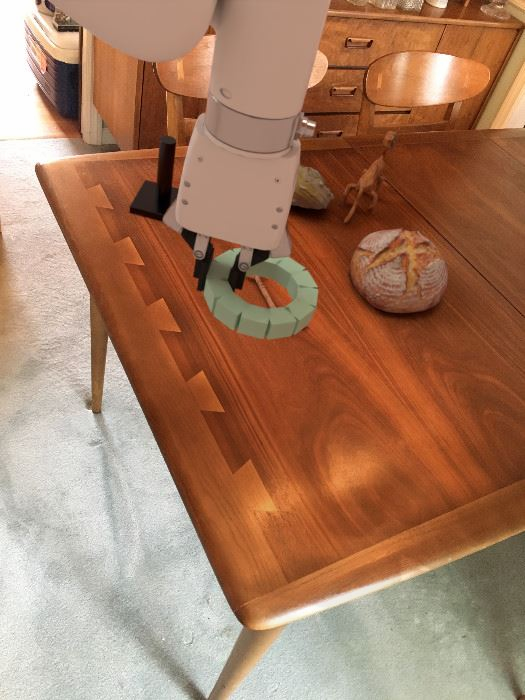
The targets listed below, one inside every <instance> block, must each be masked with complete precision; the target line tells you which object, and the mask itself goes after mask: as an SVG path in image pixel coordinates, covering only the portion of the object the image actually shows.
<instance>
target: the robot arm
mask: <svg viewBox="0 0 525 700" xmlns="http://www.w3.org/2000/svg"><path fill="white" fill-rule="evenodd" d="M47 1H48V2H49V3H51V5H53V6H54V7H55V8H57V9H58V10H59V11H61V12H62V13H63V14H65V15H67V17H69V18H70V19H71V20H73V21H74V22H76V23H77V24H78V25H80V27H82V28H83V29H84V30H86V31H88V32H89V33H90V34H92V35H93V36H94V37H96V38H97V39H98V40H100V41H102V42H103V43H104V44H107V45H108V46H110V47H111V48H113V49H115V50H116V51H118V52H120V53H122V54H124V55H127V56H129V57H131V58H133V59H136V60H139V61H143V62H147V63H159V64H160V63H162V64H163V63H168V62H173V61H176V60H178V59H181V58H182V57H185V56H186V55H188V54H189V53H190V52H192V51H193V50H194V49H195V48H196V47H197V46H198V45H199V44H200V42H201V41H202V40H203V38H204V37H205V35H206V33H207V31H208V29H209V27H211V28H212V29H213V30H214V33H215V40H214V47H213V55H212V62H211V69H210V76H209V83H208V92H207V98H206V104H205V105H206V107H205V112H203V113H201V114H199V115H198V116H197V119H196V122H195V124H194V127H193V129H192V133H191V136H190V138H189V143H188V146H187V150H186V154H185V158H184V162H183V166H182V172H181V177H180V182H179V185H178V186H179V187H178V189H179V191H178V197H177V198H176V199H175V201H174V202H173V203H172V205H171V206H170V207H169V208H168V210H167V211H166V213H165V215H164V217H163V221H162V223H163V224H164V225H166V226H167V227H169V229H172V230H173V231H174V232H176V233H177V234H180V236H181V237H182V240H183V241H185V243H186V244H187V245H188V246H189V248H191V250H192V256H193V258H195V261H194V262H195V263H194V268H193V275H192V278H194V279H198V280H197V286H196V291H197V292H200V293H202V292H203V291H204V287H205V281H206V276H207V273H208V271H209V268H210V265H211V262H212V261H213V259H214V253H215V247H214V244H213V243H212V242H211V241H212V238H214V239H218V240H221V241H225V242H229V243H233V244H236V245H240V248H241V251H240V252H239V254H237V255H236V258H235V261H234V265H233V268H232V271H231V276H230V280H229V284H230V286H231V288H232V290H233V293H235V291H236V290H238V291H243V287H244V284H245V278H246V272H247V271H249V269H250V267H252V266H254V265H256V264H259V263H261V262H263V261H265V260H267V259H268V258H272V259H273V258H283V257H290V256H291V254H292V249H293V243H292V237H291V234H290V230H289V227H288V226H289V224H288V217H289V215H290V211H291V208H292V207H291V206H292V205H291V203H292V198H293V194H294V189H295V185H296V181H297V175H298V169H299V162H300V163H301V150H302V149H301V146H302V144H301V141H300V139H303V138H307V139H310V140H312V139H313V137H314V135H315V134H314V133H315V130H316V126H317V121H313V120H310V119H309V117H306V116H305V112H304V111H302V110H303V107H304V103H305V98H306V96H307V92H308V87H309V84H310V80H311V76H312V73H313V70H314V66H315V62H316V57H317V54H318V51H319V46H320V43H321V39H322V35H323V31H324V28H325V24H326V20H327V18H328V13H329V8H330V6H331V2H332V0H47ZM299 138H300V139H299Z"/></svg>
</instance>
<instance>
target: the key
mask: <svg viewBox="0 0 525 700" xmlns="http://www.w3.org/2000/svg"><path fill="white" fill-rule="evenodd" d="M246 277H247V278H248V279H252V280H255V282H256V284H257V286H258V288H259V291H260V292H261V294H262V295H263V297H264V299H265V301H266V303H267V305H268V306H269V308H277V306H276V304H275V302H274V301H273V299H272V297H271V295H270V294H269V292H268V290H267V287H266V286H265V284H264V283H263V281H262V277H261V276H257V275H251V276H245V278H246ZM304 328H308V325H307V326H305V327H304ZM304 328H303V329H304Z"/></svg>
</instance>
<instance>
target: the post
mask: <svg viewBox="0 0 525 700" xmlns="http://www.w3.org/2000/svg"><path fill="white" fill-rule="evenodd" d="M158 146H159V147H158V156H157V158H158V159H157V173H156V181H151V180H148V179H144V181H143V183H142V184H141V186H140V188H139V190H138V192H137V194H136V195H135V197H134V198H133V200H132V201H131V204H130V205H129V213H130V214H134V215H138V216H143V217H145V218H150V219H154V220H158V221H161V222H163V217H164V215H165V213H166V211H167V210H168V208H169V207H170V206H171V205H172V203H173V202H174V201H175V199H176V198H177V197H178V191H179V187H174V186H173V180H174V169H175V161H176V160H175V158H176V149H177V139H176V138H175V137H173V136H170V135H162V136H160V137H159V145H158Z"/></svg>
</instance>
